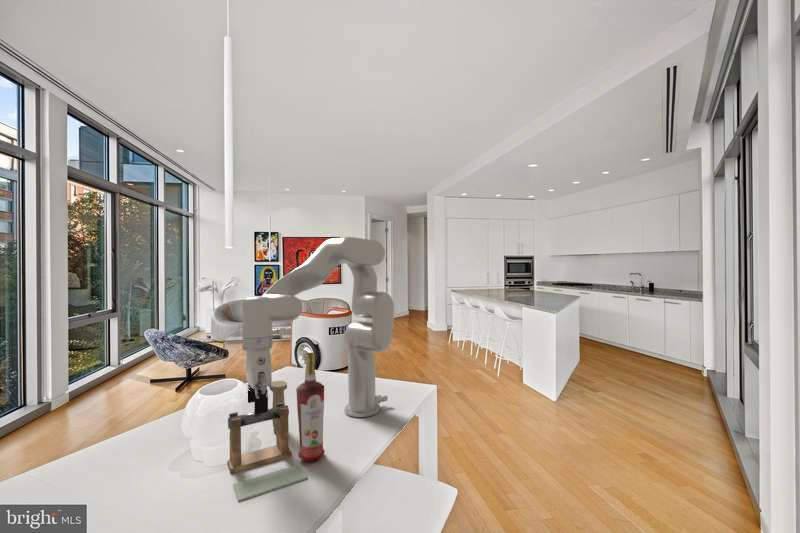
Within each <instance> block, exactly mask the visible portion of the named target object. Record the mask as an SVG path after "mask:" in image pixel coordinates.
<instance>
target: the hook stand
mask: <svg viewBox="0 0 800 533" xmlns="http://www.w3.org/2000/svg"><path fill="white" fill-rule="evenodd" d="M281 406H284V403H283V402H282V403H277V404H276V407H281ZM288 408H289V406H288V407H286V408H282V409H280V418H276V433H275V434H276V437H275V438H276V445H272V446H268V447H265V448H262V449H256V450H254V451H250V452H247V453H242V428H241V418H236V419H232V429H230V433H229V458H230V459H229V460H228V461H227V460H226V462H227V463H226V464H227V466H228V470H229V473H230V475H231V474H234V473H237V472H241V471H244V470H248V469H251V468H256V467H258V466H262V465H265V464H269V463H271V462H275V461H279V460H282V459H286V458H289V457H291V456H292V455H293V454H292V453H293V452H292V450H291V448H290V445H289V444H290V443H289V441H290V440H289V438H290V435H289V432H290V431H289V426H290V425H289V415H288ZM228 416H229V417H228V418H230V417H235V416H239V412H238V411H236V412H230V413H228Z"/></svg>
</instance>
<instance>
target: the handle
mask: <svg viewBox="0 0 800 533" xmlns="http://www.w3.org/2000/svg"><path fill="white" fill-rule="evenodd" d="M287 389H288V382H286V381H283V380H276V381H272V385H271V387H269V390H270V391H271V392H272V406H271V407H272V408H276V404H277V403H282V402H283V403H284V406H286V405H285V402H286V401H285V390H287ZM272 408H271V409H272ZM271 421H272V426H273V433H274V434H276V419H272V420H271Z"/></svg>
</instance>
